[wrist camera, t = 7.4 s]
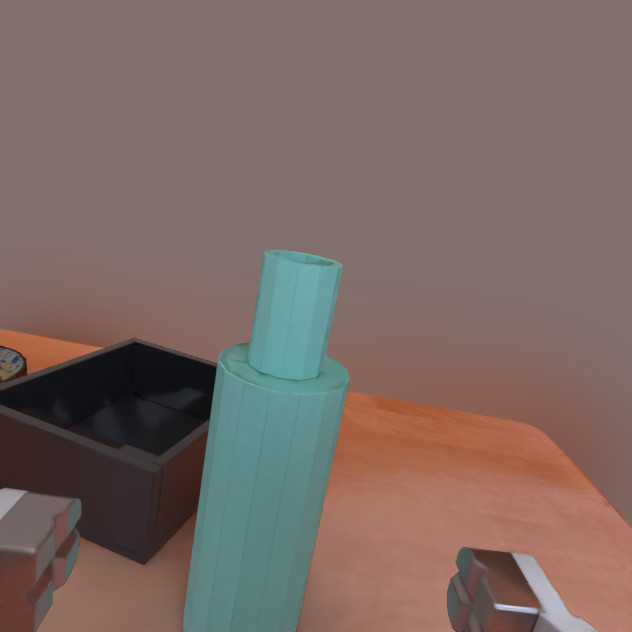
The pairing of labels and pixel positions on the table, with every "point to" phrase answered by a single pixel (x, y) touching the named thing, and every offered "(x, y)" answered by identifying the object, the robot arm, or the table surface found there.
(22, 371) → the plate with bun salad
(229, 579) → the bottle
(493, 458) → the table surface
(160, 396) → the dark open tray box
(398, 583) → the table surface
